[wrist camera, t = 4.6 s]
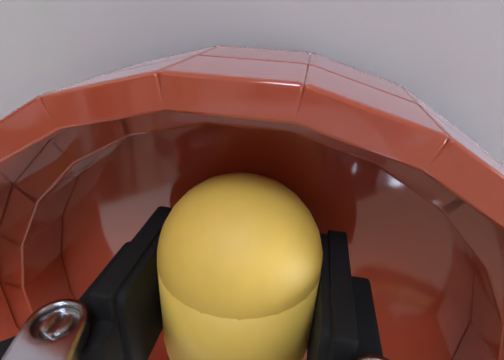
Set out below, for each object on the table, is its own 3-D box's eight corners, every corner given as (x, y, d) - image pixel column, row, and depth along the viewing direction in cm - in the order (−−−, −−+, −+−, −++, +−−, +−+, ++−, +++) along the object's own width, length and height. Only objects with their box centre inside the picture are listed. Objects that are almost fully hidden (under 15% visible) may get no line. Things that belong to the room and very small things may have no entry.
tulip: (187, 140, 11) (110, 217, 7) (346, 158, 10) (362, 255, 6) (196, 392, 16) (159, 510, 13) (297, 413, 16) (290, 545, 12)
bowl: (139, -112, 8) (-24, -216, 4) (664, 281, 10) (871, 448, 7) (-6, 301, 17) (-105, 391, 13) (300, 471, 19) (294, 594, 15)
